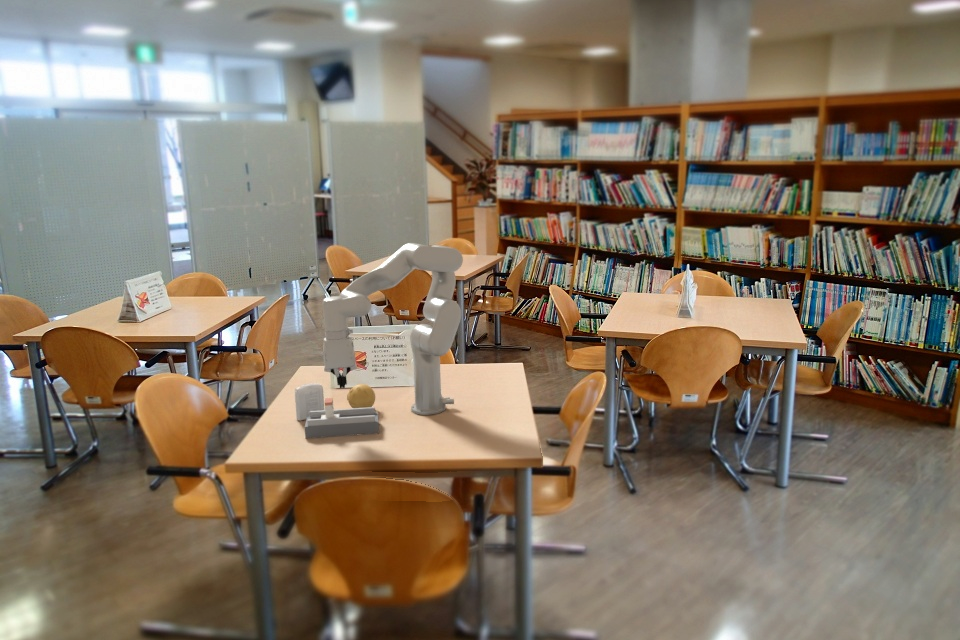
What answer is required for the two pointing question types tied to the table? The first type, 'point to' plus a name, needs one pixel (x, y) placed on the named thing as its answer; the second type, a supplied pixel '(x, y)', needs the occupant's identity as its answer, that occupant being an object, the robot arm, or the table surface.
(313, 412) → the gray slider track
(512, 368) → the table surface
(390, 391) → the table surface
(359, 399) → the stress ball
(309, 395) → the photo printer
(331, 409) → the knob
